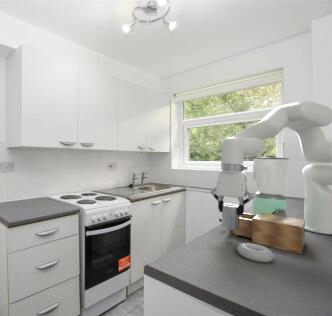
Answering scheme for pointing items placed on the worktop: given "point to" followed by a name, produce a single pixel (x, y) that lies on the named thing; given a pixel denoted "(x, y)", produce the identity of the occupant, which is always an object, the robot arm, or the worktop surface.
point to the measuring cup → (230, 216)
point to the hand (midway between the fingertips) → (230, 212)
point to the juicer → (270, 185)
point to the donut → (255, 252)
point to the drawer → (243, 225)
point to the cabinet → (279, 232)
